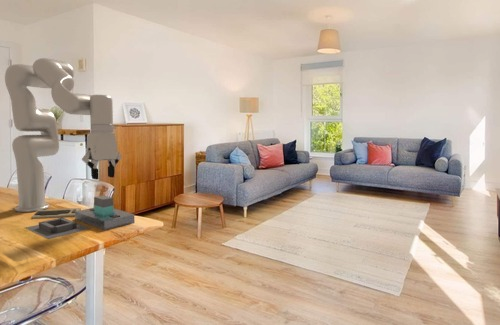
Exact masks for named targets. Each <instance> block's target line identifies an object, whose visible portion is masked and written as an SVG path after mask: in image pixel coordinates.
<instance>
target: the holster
mask: <svg viewBox="0 0 500 325" xmlns="http://www.w3.org/2000/svg"><path fill="white" fill-rule="evenodd" d="M24 229H26V230H28V231H29V232H32V233H34V234H37V235H38V236H41V237H43V238H45V239H47V240H51V239H55V238H59V237H64V236H68V235H72V234H74V233H75V234H77V233H79V232H83V231H87V230H91V229H92V228H91V227H88V226H85V225H83V224H81V223H77V222H76V221H74V220H71V219H67V218H66V217H60V218H52V219H48V220H44V221H39V222H38V224H36V225H30V226H26V227H24Z"/></svg>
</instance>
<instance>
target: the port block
mask: <svg viewBox="0 0 500 325" xmlns="http://www.w3.org/2000/svg"><path fill="white" fill-rule="evenodd" d="M113 211H114V214H111V215H107V216H101V215H98V214H95V209H94V207H91V208H86V209H81V210H80V211H75V217H74V219H75V220H76V221H79V222H81V223H84V224H87V225H90V226H92V227H94V228H98V229H100V230H103V231H107V230H110V229H113V228H114V229H115V228H118V227H123V226H126V225H129V224H135V214H133V213H131V212H128V211H123V210H120V209H117V208H114V207H113Z"/></svg>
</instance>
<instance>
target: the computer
mask: <svg viewBox="0 0 500 325" xmlns="http://www.w3.org/2000/svg"><path fill="white" fill-rule="evenodd" d="M80 210H82V209H81V207H75V208H74V207H73V208H59V209H58V208H55V209H44V210H37V211H34V213H33V215H32V216H31V220H37V219H57V218H62V217H63V218H75V211H80Z"/></svg>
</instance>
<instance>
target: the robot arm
mask: <svg viewBox="0 0 500 325" xmlns="http://www.w3.org/2000/svg"><path fill="white" fill-rule="evenodd" d="M74 73H75V72H74V68H73V66H71V64H70V63H68V62H66V61H63V60H57V59H52V58H45V57H43V58H38V59H36V60H35V61H34V62H33V64H32V65H29V64H24V63H23V64H20V63H17V64H11V65H9V66H8V67H7V68H6V70H5V73H4V83H5V86H6V89H7V91H8V94H9V98H10V103H11V111H12V118H13V123H14V127H15V129H16V130H17V131H20V132H30V133H31V132H34V133H35V132H37V133H38V132H39V133H40V134H23V135H22V134H21V135H18V136H17V137H15V138H14V139H13V140H12V145H11V146H12V151H13V155H14V158H15V164H16V166H15V167H16V175H17V177H16V179H17V181H16V182H17V194H18V205H16V206H15V207H14V211H16V212H18V213H29V212H30V213H31V212H36V211H37V210H48V209H49V208H50V204H49V202H46V195H45V193H46V192H45V173H44V166H43V163H42V162H41V161H40V160H39V159H38V158H40V157H41V158H42V157H49V156H52V157H53V156H55V155H56V154H58V152H59V151H60V150H59V149H60V139H59V130H58V123H57V118H56V116H55V114H54V113H53V112H51V111H50V110H48V109H38V108H37V104H36V102H37V101H36V97H35V96H34V94H33V93H32V91H31V90H30V88H28V87H32V88H40V89H51V90H50V93H51V98H52V101H53V103H54V104H55V105H56V106H57V107H58V108H59V109H61V110H62V111H63V112H64V113H66V114H69V115H74V116H75V115H76V116H78V115H79V116H80V115H81V116H84V115H85V116H89V117H90V118H89V119H90V123H89V124H90V132H88V134H87V137H86V138H87V139H86V146H85V147H86V148H85V155H84V156H83V157H82V158H81V161H82V162H83V163H85V164H86V165H87V166H88V167H89V169H90V174H91V175H90V176H91V178H92V180H96V181H98V180H99V169H98V168H97V167H98V164H99V161H107V163H108V166H107V176H108V177H109V178H115V173H116V172H115V171H116V169H115V167H116V166H117V164H118V163H119V161H120V160H121V159H122V158H123V156H122V155H121V153H120V152H119V151H118V143H117V138H116V137H117V136H116V134H115V132H114V131H115V130H117V129H116V128H117V127H116V126H115V125H114V117H113V116H114V115H113V112H114V111H113V108H114V106H113V98H112V96H110V95H108V94H85V93H74V92H71V91H72V90H73V89H74V86H75V80H74V75H75V74H74Z"/></svg>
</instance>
